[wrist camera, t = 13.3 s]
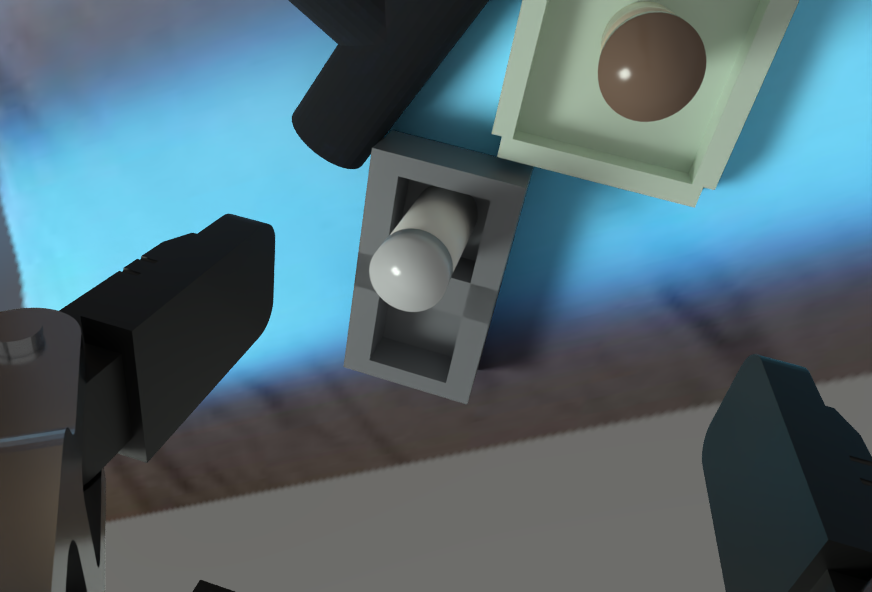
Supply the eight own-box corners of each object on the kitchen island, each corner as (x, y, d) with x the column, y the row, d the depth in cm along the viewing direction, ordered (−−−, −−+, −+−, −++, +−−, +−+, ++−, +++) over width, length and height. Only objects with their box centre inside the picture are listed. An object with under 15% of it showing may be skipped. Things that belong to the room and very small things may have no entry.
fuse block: (392, 130, 38) (371, 147, 35) (533, 166, 37) (526, 187, 34) (362, 336, 47) (343, 366, 43) (477, 370, 46) (467, 404, 42)
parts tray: (561, -146, 30) (557, -153, 28) (825, -94, 28) (842, -97, 26) (493, 142, 37) (486, 154, 35) (699, 194, 36) (705, 210, 34)
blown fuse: (614, -8, 32) (616, 3, 24) (694, 9, 31) (723, 26, 23) (589, 74, 34) (585, 108, 26) (664, 91, 33) (682, 132, 25)
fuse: (420, 174, 38) (374, 230, 31) (484, 191, 38) (453, 252, 30) (410, 233, 40) (364, 299, 33) (471, 249, 40) (438, 321, 32)
